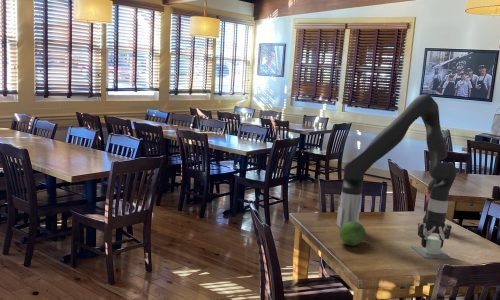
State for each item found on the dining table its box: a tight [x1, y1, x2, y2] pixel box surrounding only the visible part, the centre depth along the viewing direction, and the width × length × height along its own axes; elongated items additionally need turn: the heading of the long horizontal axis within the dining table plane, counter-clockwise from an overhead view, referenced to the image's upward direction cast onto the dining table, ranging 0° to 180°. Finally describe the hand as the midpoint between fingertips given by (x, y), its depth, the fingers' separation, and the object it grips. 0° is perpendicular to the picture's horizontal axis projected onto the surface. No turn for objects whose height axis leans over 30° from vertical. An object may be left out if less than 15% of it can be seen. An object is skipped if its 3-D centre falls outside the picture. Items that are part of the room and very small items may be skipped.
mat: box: [411, 246, 452, 260], centre depth 204 cm, size 12×12×1 cm
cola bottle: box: [422, 178, 442, 228], centre depth 238 cm, size 8×8×30 cm
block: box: [423, 235, 442, 254], centre depth 203 cm, size 5×5×6 cm
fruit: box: [339, 221, 366, 247], centre depth 207 cm, size 15×10×10 cm, turn 140°
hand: (431, 247), depth 203 cm, fingers open, 6 cm apart
